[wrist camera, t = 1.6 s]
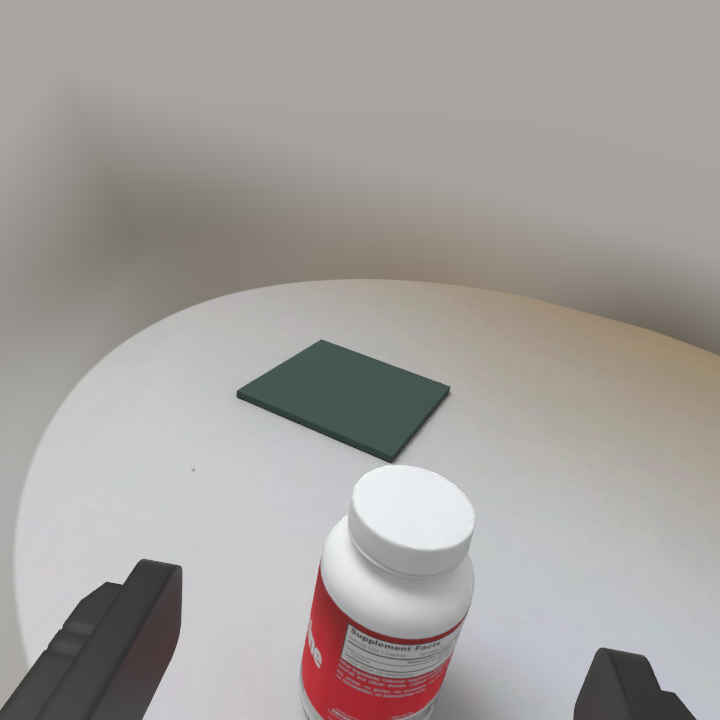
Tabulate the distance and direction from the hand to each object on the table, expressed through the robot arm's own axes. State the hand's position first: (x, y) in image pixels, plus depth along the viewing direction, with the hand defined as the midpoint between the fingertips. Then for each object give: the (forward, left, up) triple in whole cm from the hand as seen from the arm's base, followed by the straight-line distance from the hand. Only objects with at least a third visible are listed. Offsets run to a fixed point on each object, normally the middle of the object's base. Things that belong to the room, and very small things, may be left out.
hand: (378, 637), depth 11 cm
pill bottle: (-2, +10, -15) cm, 18 cm away
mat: (-15, +34, -15) cm, 40 cm away
